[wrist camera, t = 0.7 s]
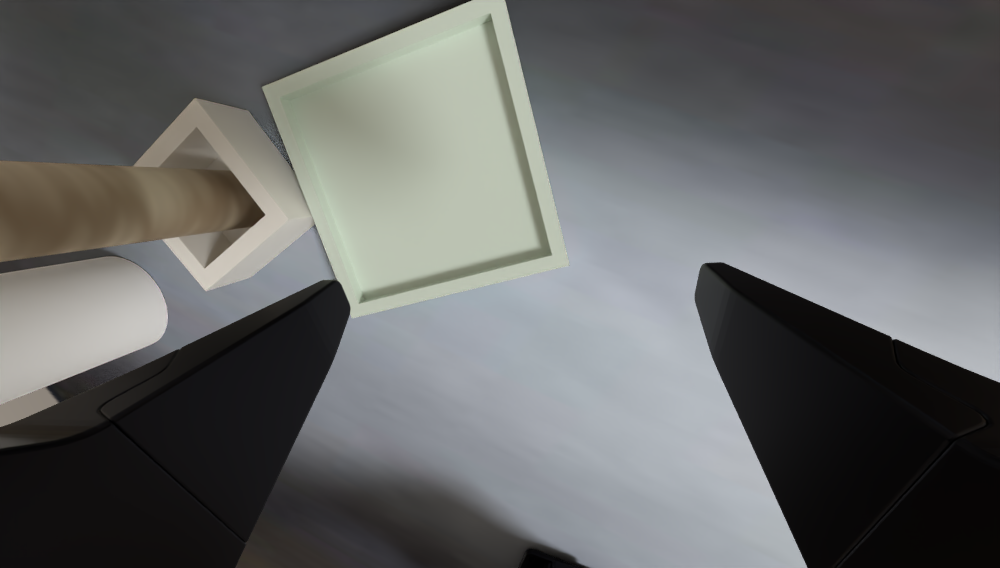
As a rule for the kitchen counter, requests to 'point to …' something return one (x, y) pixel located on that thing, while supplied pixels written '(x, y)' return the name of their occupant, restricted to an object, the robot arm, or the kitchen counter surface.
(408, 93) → the tray
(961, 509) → the robot arm
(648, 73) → the kitchen counter surface
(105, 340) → the cylindrical container
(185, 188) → the dowel
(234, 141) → the holder
